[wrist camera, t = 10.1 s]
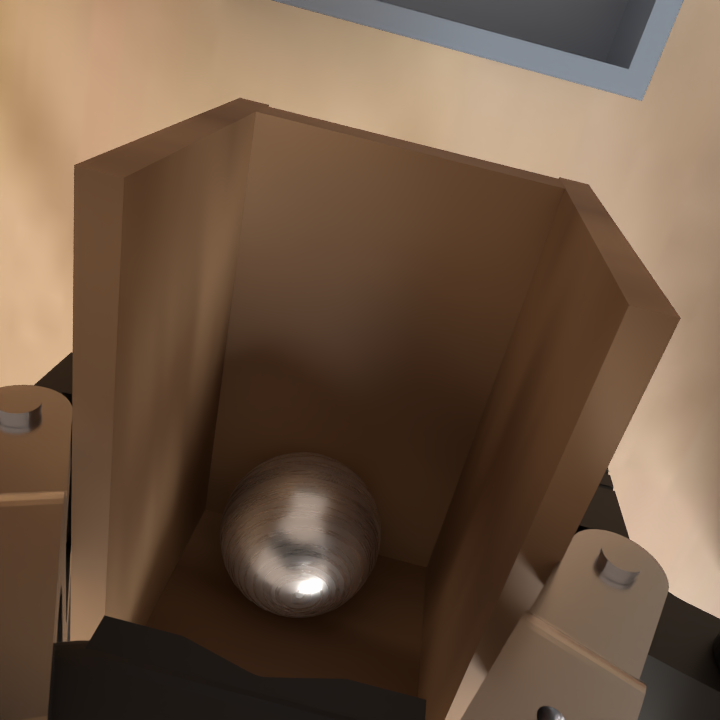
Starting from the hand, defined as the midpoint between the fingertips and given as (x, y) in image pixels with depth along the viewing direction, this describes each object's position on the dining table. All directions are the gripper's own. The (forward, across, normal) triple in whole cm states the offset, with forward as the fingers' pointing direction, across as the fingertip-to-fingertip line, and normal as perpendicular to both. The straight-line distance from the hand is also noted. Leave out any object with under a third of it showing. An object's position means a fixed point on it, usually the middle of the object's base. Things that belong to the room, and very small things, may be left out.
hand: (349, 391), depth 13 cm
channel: (+1, 0, 0) cm, 1 cm away
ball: (-1, 0, +2) cm, 3 cm away
